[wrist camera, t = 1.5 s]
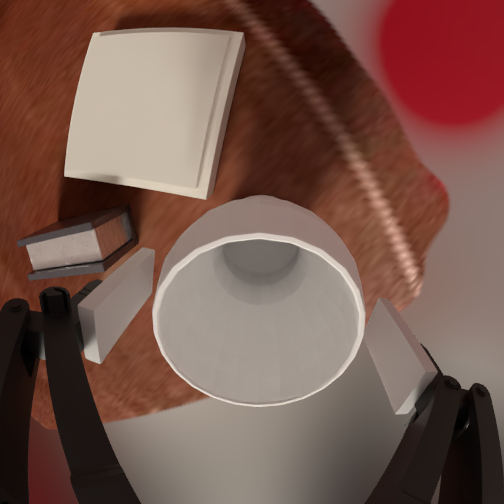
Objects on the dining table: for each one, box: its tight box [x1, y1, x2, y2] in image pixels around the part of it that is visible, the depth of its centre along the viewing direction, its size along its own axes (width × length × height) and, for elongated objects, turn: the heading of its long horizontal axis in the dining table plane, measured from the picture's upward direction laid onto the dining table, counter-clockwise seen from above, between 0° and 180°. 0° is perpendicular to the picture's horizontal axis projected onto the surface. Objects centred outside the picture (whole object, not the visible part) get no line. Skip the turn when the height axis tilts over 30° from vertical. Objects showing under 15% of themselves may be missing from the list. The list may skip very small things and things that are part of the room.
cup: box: [152, 195, 366, 407], centre depth 19 cm, size 11×11×15 cm
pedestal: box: [64, 28, 246, 200], centre depth 20 cm, size 14×14×4 cm
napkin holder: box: [17, 204, 138, 280], centre depth 23 cm, size 10×4×7 cm, turn 98°
